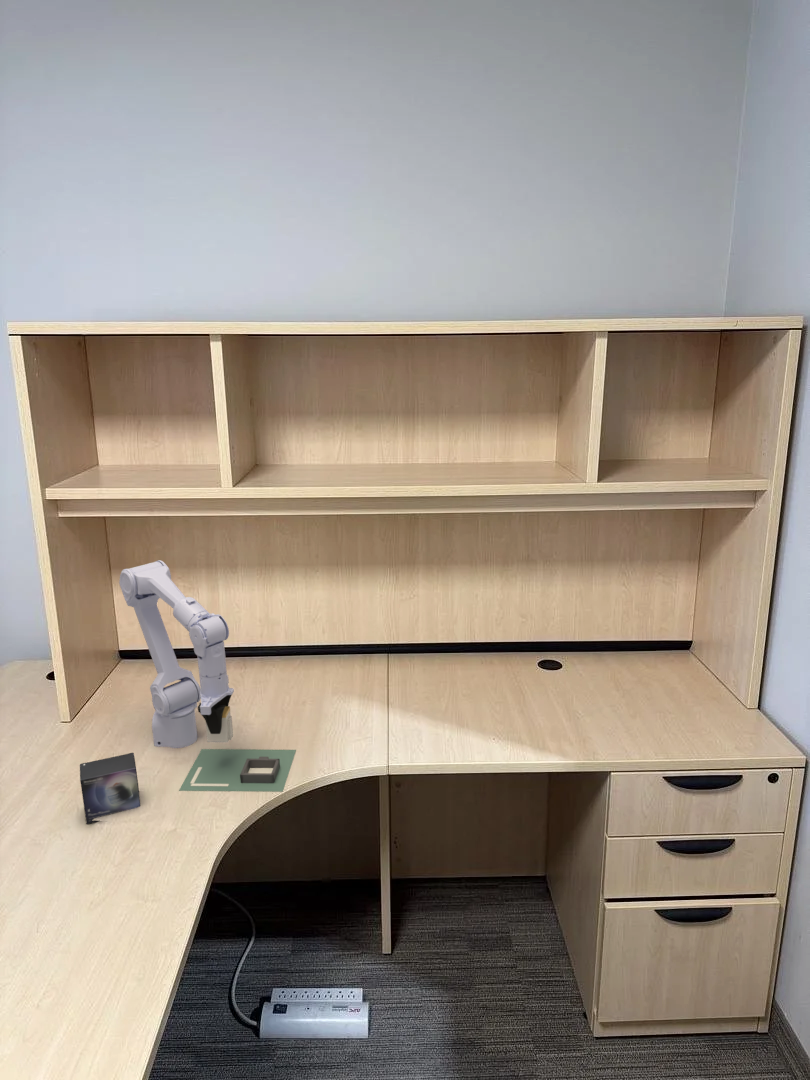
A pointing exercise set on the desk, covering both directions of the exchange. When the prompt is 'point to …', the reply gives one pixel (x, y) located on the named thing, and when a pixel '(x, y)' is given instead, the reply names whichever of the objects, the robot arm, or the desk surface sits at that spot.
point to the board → (239, 770)
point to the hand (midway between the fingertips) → (218, 728)
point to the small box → (109, 786)
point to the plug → (222, 728)
